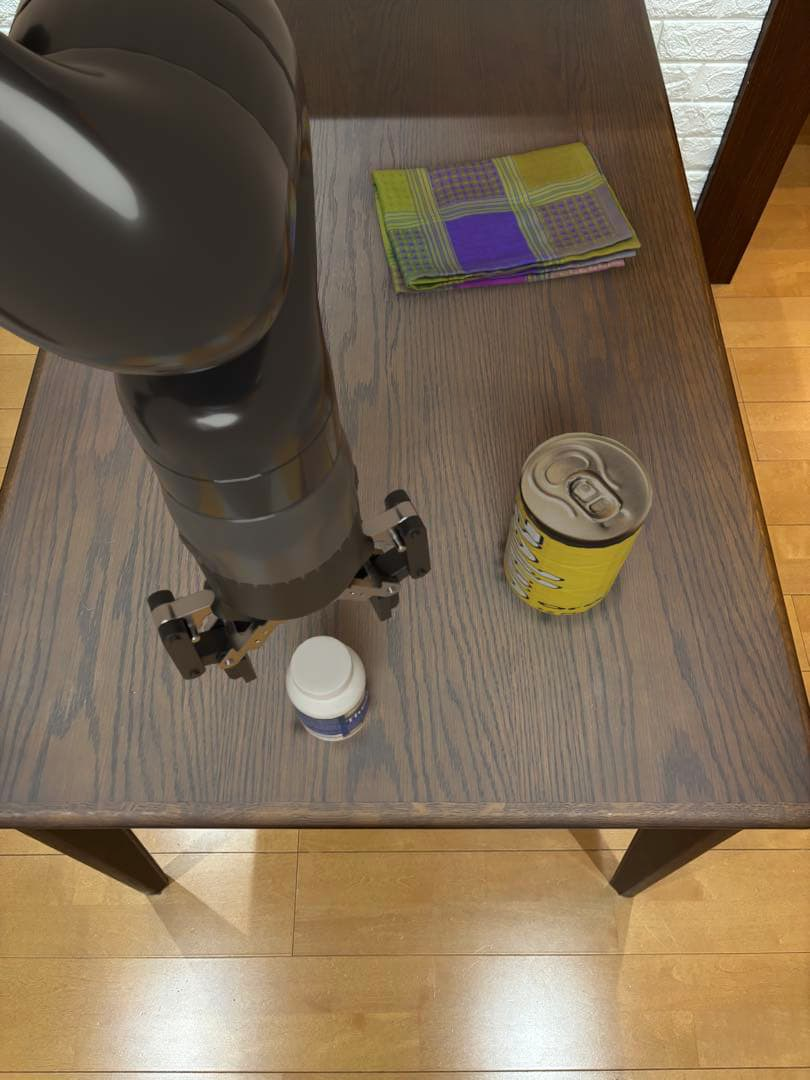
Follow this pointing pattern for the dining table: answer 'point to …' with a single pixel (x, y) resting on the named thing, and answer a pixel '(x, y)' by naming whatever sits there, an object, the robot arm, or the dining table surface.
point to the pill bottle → (328, 688)
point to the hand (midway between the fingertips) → (313, 636)
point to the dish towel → (500, 220)
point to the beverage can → (574, 521)
